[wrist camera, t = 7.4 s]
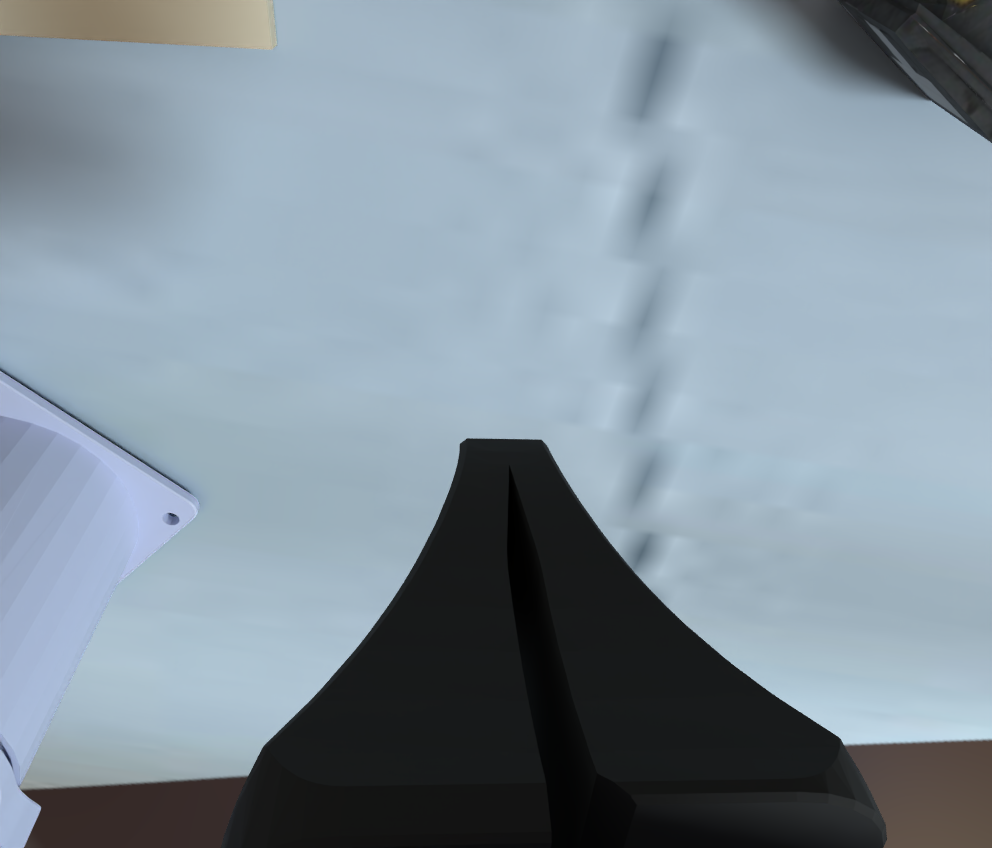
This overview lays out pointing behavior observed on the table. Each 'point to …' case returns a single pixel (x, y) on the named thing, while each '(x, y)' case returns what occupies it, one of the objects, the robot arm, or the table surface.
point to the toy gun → (938, 50)
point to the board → (145, 21)
